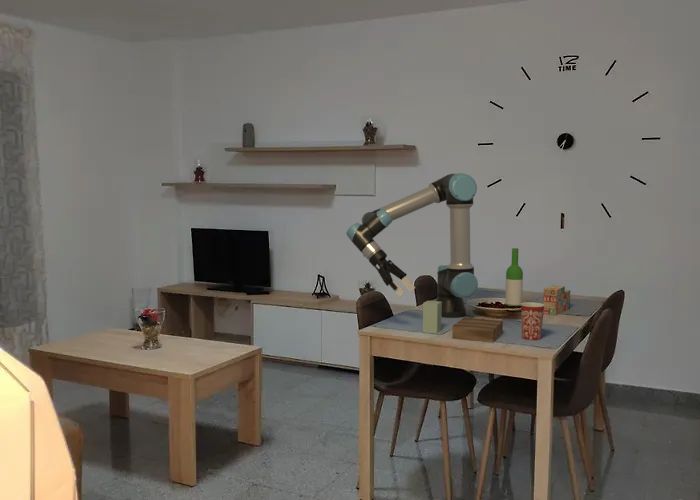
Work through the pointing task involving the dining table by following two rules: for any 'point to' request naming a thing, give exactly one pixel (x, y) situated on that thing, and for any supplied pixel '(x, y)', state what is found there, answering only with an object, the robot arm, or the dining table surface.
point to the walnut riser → (477, 329)
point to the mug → (532, 320)
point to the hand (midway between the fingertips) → (407, 292)
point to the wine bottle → (514, 282)
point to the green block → (432, 316)
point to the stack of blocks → (556, 300)
